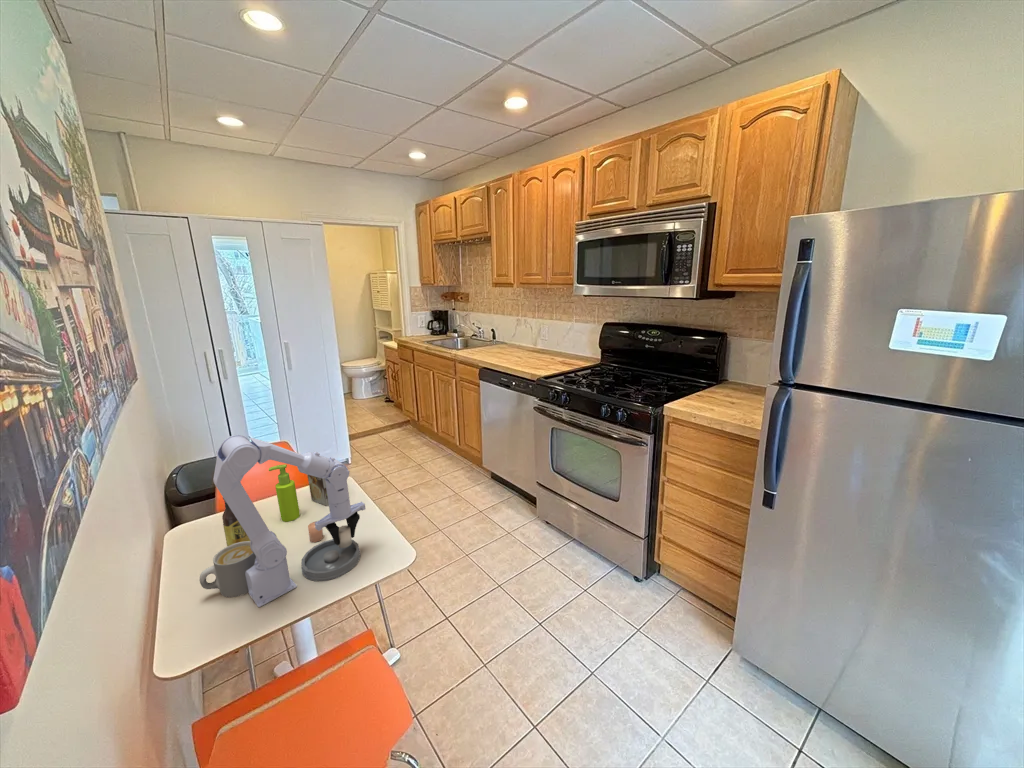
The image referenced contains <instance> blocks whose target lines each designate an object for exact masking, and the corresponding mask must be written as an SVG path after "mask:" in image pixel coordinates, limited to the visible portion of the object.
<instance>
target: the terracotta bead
mask: <svg viewBox="0 0 1024 768" xmlns="http://www.w3.org/2000/svg"><path fill="white" fill-rule="evenodd" d="M317 521H318V520H317ZM317 521H313V522H310V523H309V524H308V525H307V530H308V536H309V537H308V538H309V541H310V542H311V543H318V542H321V541H322V540H323V539H324V532H323V531H324V530H323V529H322V530H320V531H318V530H317V529H316V528H315V522H317Z"/></svg>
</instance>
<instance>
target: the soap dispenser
mask: <svg viewBox="0 0 1024 768" xmlns="http://www.w3.org/2000/svg"><path fill="white" fill-rule="evenodd" d="M287 465H288V464H286V463H284V464H278V465H274V466H272V467H269V468H268V471H269V472H273V471H274V470H275V471H276V470H279V474H278V475H277V479H278V483H277V484H275V491H276V497H277V503H278V509H279V515H280V519H281V520H280V521H282V522H284V523H289V522H293V521H295V520H297V519H298V518H300V516H301V513H300V506H299V502H298V501H299V499H298V495H297V490H296V483H295V481H294V480H293V479H291V477H290V473H289V472H286V469H287V467H288V466H287Z"/></svg>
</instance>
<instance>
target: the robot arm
mask: <svg viewBox="0 0 1024 768" xmlns="http://www.w3.org/2000/svg"><path fill="white" fill-rule="evenodd" d="M268 461H275V462H279V463H282V464H287V465H290V466H294V467H296V468H297V470H298V472H299V473H302V474H305V475H307V474H308V475H311V476H315V477H318V478H326V479H325V481H326V490H327V496H328V503H329V505H328V509H329V513H328V514H327V515H325V516H324V517H322V518H321V519H319V520H317V522H316V521H314V522H315V528H316V529H317V530H318V531H320V530H323V528H325V529H326V530H327V531H328V533H329V534H330V535H331V538H332V539H333V540H334V543H335V544H336V545H339V544H340V540H339V527H340V526H338V525H337V522H341V521H345V520H346V524H347V525H346V526H350V530H351V537H352V539H354V537H355V533H356V529H357V525H358V523H359V521H360V519H361V518H360V517H361V515H360V514H359V513H358V512H360V511H365V510H366V504H365V503H364V502H363V501H360V502H357V503H354V504H351V500H350V493H349V486H348V478H349V476H350V470H349V469H348V467H347V466H346V465H345V464H344V463H342V462H341V461H339V460H338V459H335V457H334V458H333V457H329V458H328V457H325V456H323V455H320V453H319V452H317V451H314V450H313V452H310V451H308V452H305V453H302V454H301V453H298V452H295V451H293V450H290V449H287V448H284V447H282V446H280V445H276V444H273V443H271V442H268V441H265V440H261V439H258V438H255V437H249V439H248V437H247V436H244V435H241V434H234V435H233V434H232V435H230V436H228V437H226V438H225V439H224V440H223V441H222V443H221V444H220V446H219V447H218V449H217V451H216V461H215V466H214V467H215V468H214V471H213V472H214V474H213V480H212V481H213V483H214V486H215V487H216V489H217V490H218V491H219V494H221V496H222V499H223V498H224V499H223V501H224V500H225V501H226V503H227V504H228V506H229V507H230V509H231V510H232V512H233V514H234V515H235V517H236V518H237V520H238V521H239V523H240V525H241V526H242V528H243V529H244V531H245V532H246V534H247V536H248V537H249V539H250V548H251V550H252V552H254V554H255V555H256V559H255V563H254V566H252V567H251V568H250V569H248V570H247V571H245V575H246V580H247V585H248V590H249V592H248V595H249V596H250V598H251V599H252V600H253V602H254V603H255V605H256V607H258V608H260V607H263V606H264V605H266V604H269V603H271V602H272V601H274V600H275V599H277V598H279V597H281V596H283V595H285V594H287V593H289V592H290V591H292V590H295V589H296V588H297V586H298V585H297V584H296V583H295V582H294V580H293V579H292V578H291V576H290V570H289V564H288V560H287V553H288V550H287V548H286V546H285V545H284V544H282V542H281V541H280V540H279V539H278V537H277V535H276V533H275V532H273V531H272V530H270V529H269V527H268V526H267V524H266V523H265V521H264V519H263V517H262V516H261V514H260V513H259V511H258V509H257V507H256V506H255V504H254V503H253V501H252V499H251V498H250V496H249V494H248V493H247V491H246V489H245V488H244V485H243V484H242V483H241V482H242V480H243V478H244V476H246V474H247V473H248V472H249V471H250V470H251V469H252V468H253V467H255V465H256V464H259V465H262V464H263V463H266V462H268ZM308 475H307V476H308Z"/></svg>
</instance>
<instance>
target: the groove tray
mask: <svg viewBox="0 0 1024 768" xmlns="http://www.w3.org/2000/svg"><path fill="white" fill-rule="evenodd" d="M359 546H360V545H359V543H358V542H357V541H355V540H354V539H352V544H351V545H350V546H348V547H346V548H339V547H338V545H336V544H335V543H334V540H333V538H332V539H329V540H325V541H322V542H320V543H318V544H316V545H314V546H313V547H311V548H310V549H309V550H307V551H306V552H305V554H304V555H303V556H302V559H301V572H302V576H303V577H304V578H306V579H307V580H310V581H311V582H312V581H313V582H325V581H331V580H334V579H338V578H340V577H342V576H343V575H346V574H347V573H349V572H350V571H352V570H353V569H354V568H355V567H356V566H357V565H358V563H359V561H360V560H361V555H362V554H361V550H360V547H359Z"/></svg>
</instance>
